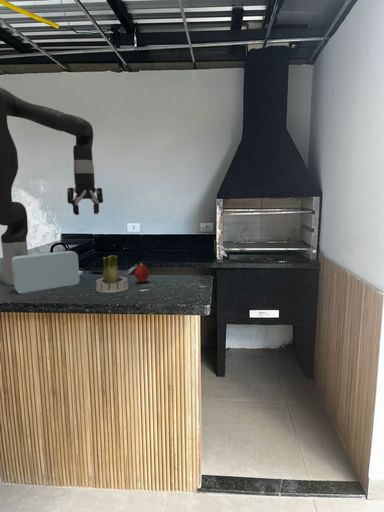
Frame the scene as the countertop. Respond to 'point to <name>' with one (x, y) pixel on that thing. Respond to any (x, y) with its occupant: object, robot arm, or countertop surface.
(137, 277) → the onion
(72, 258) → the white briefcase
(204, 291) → the countertop surface
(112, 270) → the fennel bulb
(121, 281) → the white low ring
